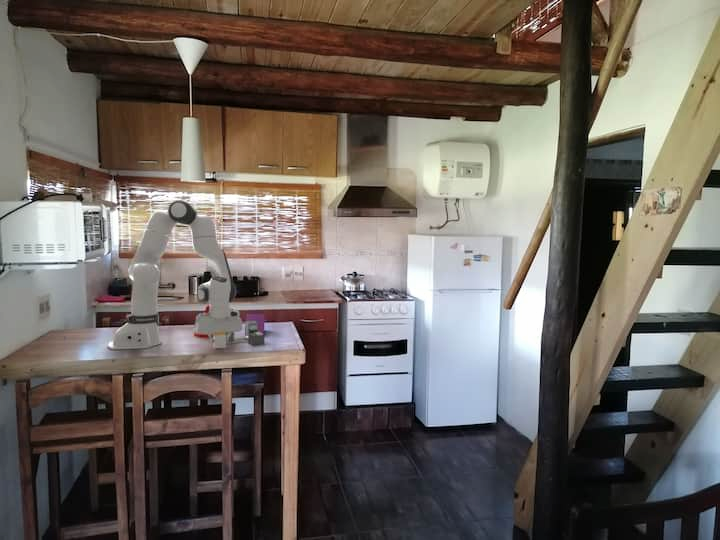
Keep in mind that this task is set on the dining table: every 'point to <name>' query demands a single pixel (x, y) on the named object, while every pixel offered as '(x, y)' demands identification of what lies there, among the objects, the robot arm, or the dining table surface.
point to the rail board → (250, 328)
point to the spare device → (256, 339)
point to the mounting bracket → (258, 318)
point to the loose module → (219, 340)
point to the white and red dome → (196, 326)
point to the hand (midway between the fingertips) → (219, 342)
